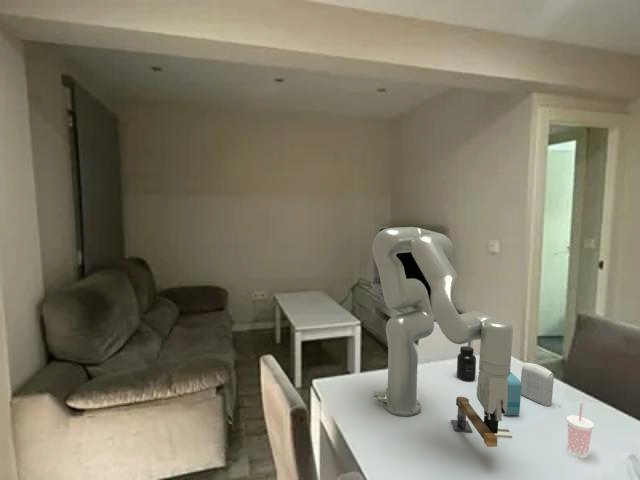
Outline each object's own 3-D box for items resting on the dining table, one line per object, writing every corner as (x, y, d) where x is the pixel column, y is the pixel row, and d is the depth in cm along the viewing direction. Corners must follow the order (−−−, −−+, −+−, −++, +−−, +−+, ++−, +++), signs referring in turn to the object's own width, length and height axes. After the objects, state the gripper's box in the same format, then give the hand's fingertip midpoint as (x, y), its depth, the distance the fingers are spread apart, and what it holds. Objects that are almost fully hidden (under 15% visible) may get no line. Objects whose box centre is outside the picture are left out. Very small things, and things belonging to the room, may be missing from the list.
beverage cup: (566, 442, 110) (569, 395, 109) (592, 451, 106) (596, 403, 105) (562, 453, 105) (566, 404, 104) (590, 462, 102) (594, 412, 100)
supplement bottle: (476, 376, 152) (478, 347, 150) (473, 383, 146) (474, 352, 145) (458, 372, 155) (460, 343, 154) (454, 379, 149) (456, 349, 148)
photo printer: (554, 404, 131) (556, 369, 130) (547, 407, 129) (549, 372, 128) (524, 391, 140) (526, 358, 139) (517, 394, 138) (519, 361, 136)
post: (454, 431, 115) (455, 409, 114) (451, 422, 120) (451, 401, 119) (472, 432, 114) (473, 411, 114) (467, 423, 119) (468, 402, 119)
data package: (519, 417, 123) (521, 381, 122) (505, 417, 123) (507, 381, 122) (501, 398, 135) (503, 365, 134) (488, 398, 135) (490, 365, 134)
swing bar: (454, 403, 118) (454, 395, 118) (465, 403, 118) (466, 395, 118) (485, 446, 97) (485, 437, 97) (499, 446, 97) (499, 437, 97)
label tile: (487, 436, 113) (487, 433, 113) (482, 426, 118) (482, 424, 118) (512, 437, 112) (512, 435, 112) (506, 428, 117) (506, 425, 117)
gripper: (471, 354, 110) (467, 415, 111) (489, 378, 95) (485, 448, 97) (498, 355, 109) (494, 417, 111) (521, 380, 94) (516, 450, 96)
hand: (490, 431), depth 104 cm, fingers closed
